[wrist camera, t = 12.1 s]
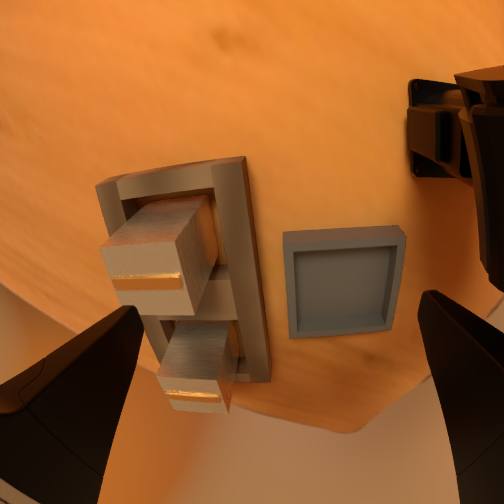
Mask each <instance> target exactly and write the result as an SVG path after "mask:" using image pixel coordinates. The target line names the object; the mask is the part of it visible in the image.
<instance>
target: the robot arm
mask: <svg viewBox="0 0 504 504" xmlns="http://www.w3.org/2000/svg"><path fill="white" fill-rule="evenodd" d="M454 77H455V80H456V83H457V85H456V84H450V83H444V82H437V81H430V80H422V79H412V80H410V82H409V85H408V87H409V102H410V107H409V108H408V109H407V122H408V147H409V148H410V149H411V172H412V174H414V175H415V176H416V177H440V178H458V179H460V180H461V181H463V182H465V183H466V184H468V185H470V186H471V187H473V188H474V193H475V201H476V209H477V219H478V232H479V249H480V260H481V262H482V264H483V266H484V268H485V270H486V272H487V273H488V274H489V279H488V280H489V281H490V283H492V284H493V285H494V286H495V287H496V288H497V289H498V290H500V291H502V292H504V65H503V66H497V67H491V68H485V69H480V70H474V71H469V72H464V73H460V74H455V75H454ZM415 83H417V84H418V86H419V88H418V90H416V89H415V87H414V84H415ZM418 166H420V171H419V172H416V168H417V167H418ZM418 322H419V326H420V330H421V334H422V338H423V343H424V347H425V352H426V356H427V360H428V364H429V367H430V370H431V373H432V377H433V380H434V383H435V386H436V390H437V393H438V397H439V400H440V404H441V408H442V412H443V415H444V419H445V423H446V427H447V432H448V436H449V441H450V445H451V450H452V455H453V460H454V465H455V471H456V476H457V484H458V491H459V498H460V504H504V333H503V332H501V331H499V330H498V329H497V328H495V327H493V326H492V325H491V324H489V323H488V322H486V321H484V320H483V319H481V318H480V317H478V316H477V315H475V314H474V313H472V312H471V311H469V310H467V309H466V308H464V307H463V306H461V305H460V304H458V303H456V302H455V301H453V300H452V299H450V298H448V297H447V296H445V295H443V294H442V293H440V292H439V291H437V290H427V291H424V292H423V294H422V297H421V301H420V305H419V309H418ZM143 333H144V325H143V322H142V319H141V317H140V315H139V312H138V310H137V308H136V307H135V306H134V305H123V306H121V307H120V308H118V309H117V310H115V311H114V312H112V313H111V314H109V315H108V316H106V317H105V318H103V319H101V320H100V321H98V322H97V323H95V324H94V325H92V326H91V327H89V328H88V329H86V330H85V331H83V332H82V333H80V334H79V335H77V336H76V337H74V338H73V339H71V340H70V341H68V342H67V343H65V344H64V345H62V346H61V347H59V348H58V349H56V350H55V351H53V352H52V353H50V354H49V355H48V356H46V358H43V359H41V360H40V361H38V362H37V363H36V364H34V365H32V366H31V367H29V368H28V369H26V370H25V371H23V372H21V373H20V374H18V375H16V376H15V377H13V378H12V379H10V380H8V381H7V382H5V383H3V384H1V385H0V504H97V502H98V498H99V494H100V490H101V485H102V481H103V476H104V473H105V469H106V465H107V461H108V457H109V454H110V450H111V446H112V443H113V439H114V435H115V432H116V429H117V425H118V422H119V418H120V415H121V412H122V409H123V406H124V402H125V399H126V396H127V393H128V390H129V387H130V384H131V381H132V378H133V374H134V371H135V368H136V364H137V359H138V355H139V350H140V346H141V342H142V337H143Z"/></svg>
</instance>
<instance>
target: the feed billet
mask: <svg viewBox="0 0 504 504" xmlns="http://www.w3.org/2000/svg"><path fill="white" fill-rule="evenodd" d="M239 351H240V349H239V344H238V340H237V335H236V330H235V326H234V321H233V320H179V321H178V323H177V326H176V328H175V331H174V333H173V335H172V338H171V340H170V343H169V345H168V347H167V350H166V352H165V355H164V357H163V360H162V362H161V365H160V367H159V369H158V372H157V374H156V377H157V379H158V381H159V383H160V385H161V386H162V388H163V390H164V392H165V394H166V396H167V397H168V399H169V401H170V403H171V404H172V406H173V408H174V409H175V410H182V411H192V412H203V413H218V414H229V409H230V403H231V397H232V391H233V386H234V380H235V374H236V368H237V363H238V357H239Z"/></svg>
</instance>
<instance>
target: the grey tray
mask: <svg viewBox="0 0 504 504" xmlns="http://www.w3.org/2000/svg"><path fill="white" fill-rule="evenodd" d="M406 238H407V236H406V235H405V234H404V232H403V231H402V230H401V229H400V227H399V226H398V225H395V226H375V227H357V228H339V229H322V230H306V231H290V232H283V250H284V263H285V276H286V290H287V305H288V320H289V336H290V339H291V338H310V337H325V336H338V335H350V334H360V333H370V332H379V331H388V330H391V328H392V324H393V319H394V314H395V309H396V304H397V299H398V293H399V287H400V281H401V275H402V269H403V262H404V254H405V246H406Z"/></svg>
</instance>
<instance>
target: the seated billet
mask: <svg viewBox="0 0 504 504" xmlns="http://www.w3.org/2000/svg"><path fill="white" fill-rule="evenodd" d="M99 248H100V251H101V254H102V257H103V260H104V262H105V265H106V268H107V271H108V273H109V276H110V279H111V281H112V284H113V286H114V289H115V291H116V294H117V296H118V299H119V301H120V303H121V306H123V305H134V306H135V307H136V308H137V310H138V312H139V315H195V313H196V311H197V308H198V305H199V303H200V300H201V297H202V295H203V292H204V290H205V287H206V284H207V282H208V279H209V277H210V274H211V271H212V269H213V266H214V264H215V261H216V258H217V256H218V253H219V251H218V246H217V241H216V236H215V230H214V225H213V219H212V214H211V208H210V203H209V197H208V195H199V196H190V197H182V198H174V199H166V200H159V201H152V202H148V203H147V204H146V205H145V206H144V207H143V208H141V209H140V210H139V211H138V212H137V213H136V214H135V215H134V216H132V217H131V218H130V219H129V220H128V221H127V222H126V223H125V224H124V225H123V226H121V227H120V228H119V229H118V230H117V231H116V232H115V233H114V234H113V235H112V236H111V237H110V238H109V239H108V240H107V241H105V242H104V243H103V244H102V245H101V246H100V247H99Z"/></svg>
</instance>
